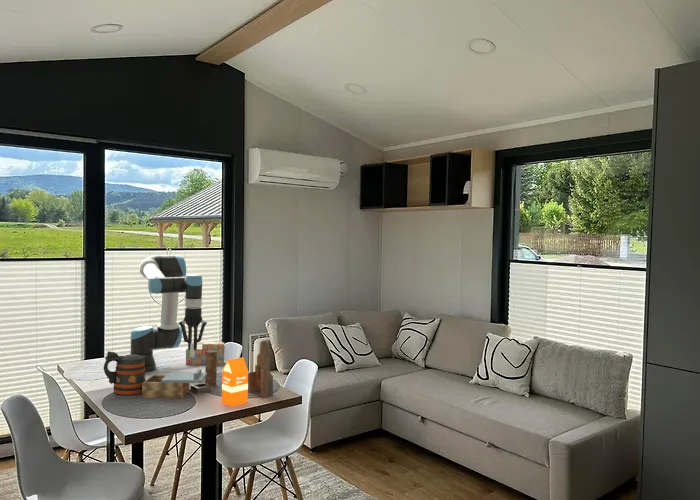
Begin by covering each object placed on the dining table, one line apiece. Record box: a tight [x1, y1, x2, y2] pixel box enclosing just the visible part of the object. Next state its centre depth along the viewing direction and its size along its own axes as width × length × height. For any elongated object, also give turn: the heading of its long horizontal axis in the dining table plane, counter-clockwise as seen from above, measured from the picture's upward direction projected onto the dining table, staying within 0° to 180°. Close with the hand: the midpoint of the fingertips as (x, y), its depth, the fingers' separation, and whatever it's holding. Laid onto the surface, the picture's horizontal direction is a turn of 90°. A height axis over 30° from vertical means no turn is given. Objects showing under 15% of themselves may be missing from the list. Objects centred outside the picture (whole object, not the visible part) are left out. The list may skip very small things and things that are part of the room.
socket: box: [189, 382, 212, 394], centre depth 260 cm, size 7×7×2 cm
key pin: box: [204, 350, 218, 387], centre depth 270 cm, size 4×4×17 cm
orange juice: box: [221, 357, 249, 407], centre depth 243 cm, size 8×9×20 cm
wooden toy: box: [248, 340, 274, 399], centre depth 258 cm, size 15×7×25 cm, turn 42°
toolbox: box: [141, 374, 190, 399], centre depth 254 cm, size 18×14×7 cm
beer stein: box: [103, 350, 146, 396], centre depth 255 cm, size 19×15×20 cm
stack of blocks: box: [185, 341, 225, 366], centre depth 314 cm, size 21×6×12 cm, turn 98°
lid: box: [161, 367, 207, 384], centre depth 254 cm, size 18×14×4 cm
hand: (192, 356), depth 255 cm, fingers closed
